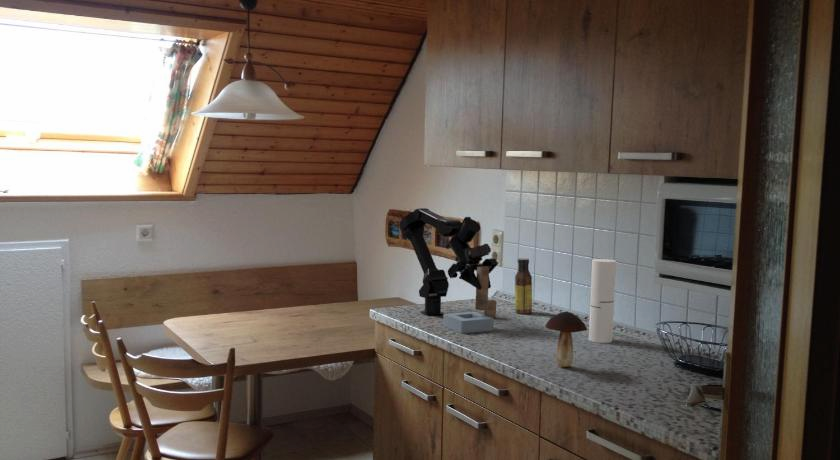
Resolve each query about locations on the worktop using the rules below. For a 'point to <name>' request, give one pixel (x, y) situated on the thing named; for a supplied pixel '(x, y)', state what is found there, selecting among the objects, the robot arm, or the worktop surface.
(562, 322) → the decorative mushroom
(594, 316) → the cylindrical container
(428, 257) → the robot arm
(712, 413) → the worktop surface
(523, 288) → the sauce bottle
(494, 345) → the worktop surface
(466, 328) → the sleeve block
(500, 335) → the worktop surface
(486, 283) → the tall walnut pin
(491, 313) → the short walnut pin
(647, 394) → the worktop surface
